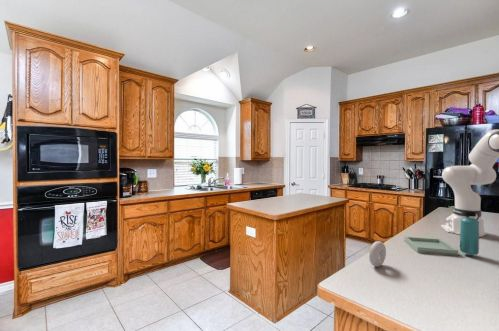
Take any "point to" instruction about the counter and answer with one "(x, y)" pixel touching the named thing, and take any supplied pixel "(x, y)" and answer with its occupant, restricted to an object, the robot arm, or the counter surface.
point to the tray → (430, 246)
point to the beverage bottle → (469, 234)
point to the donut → (377, 253)
